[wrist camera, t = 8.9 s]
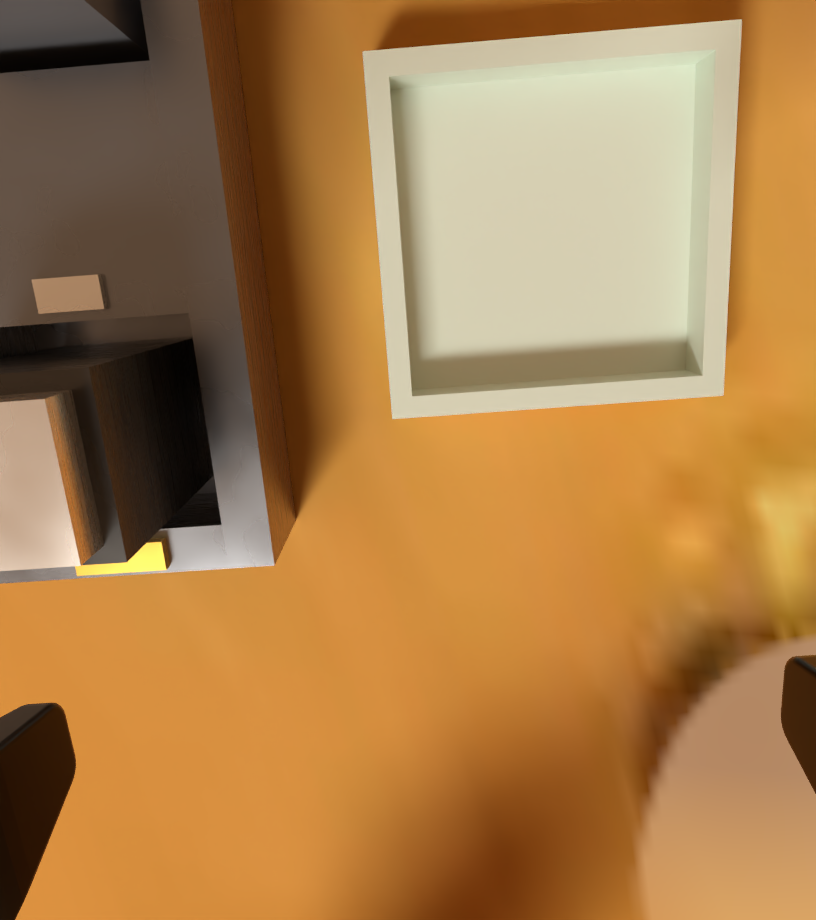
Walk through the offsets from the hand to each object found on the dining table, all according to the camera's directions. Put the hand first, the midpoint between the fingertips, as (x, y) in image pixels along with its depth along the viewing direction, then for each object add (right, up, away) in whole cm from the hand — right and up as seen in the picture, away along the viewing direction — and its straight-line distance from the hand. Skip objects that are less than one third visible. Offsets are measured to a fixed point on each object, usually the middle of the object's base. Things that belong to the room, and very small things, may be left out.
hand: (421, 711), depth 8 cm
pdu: (-9, +11, +11) cm, 17 cm away
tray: (+4, +9, +11) cm, 15 cm away
